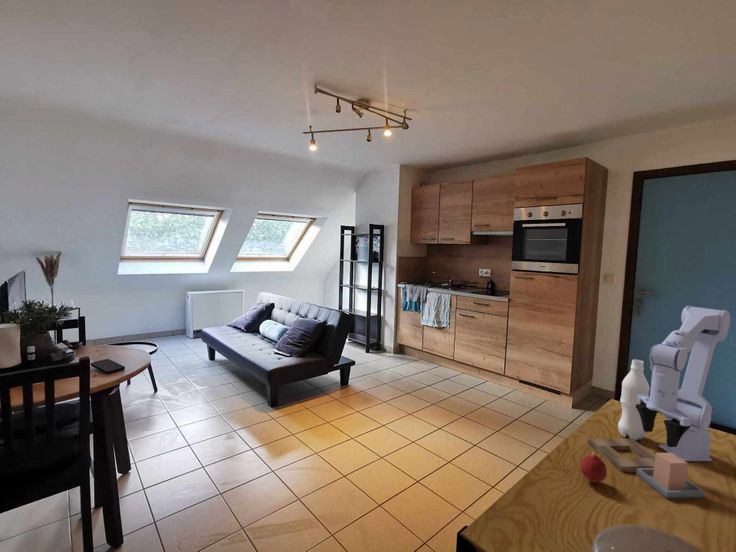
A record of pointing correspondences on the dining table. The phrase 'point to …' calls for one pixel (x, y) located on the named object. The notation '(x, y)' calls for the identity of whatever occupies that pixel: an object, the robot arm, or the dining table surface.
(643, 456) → the board
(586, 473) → the red pomegranate
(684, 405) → the robot arm
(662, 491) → the tray
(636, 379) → the water bottle
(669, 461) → the block
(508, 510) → the dining table surface
